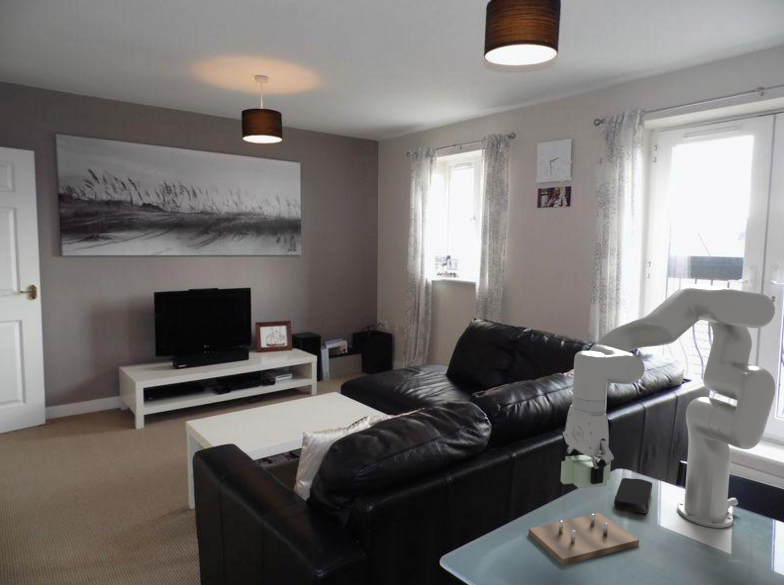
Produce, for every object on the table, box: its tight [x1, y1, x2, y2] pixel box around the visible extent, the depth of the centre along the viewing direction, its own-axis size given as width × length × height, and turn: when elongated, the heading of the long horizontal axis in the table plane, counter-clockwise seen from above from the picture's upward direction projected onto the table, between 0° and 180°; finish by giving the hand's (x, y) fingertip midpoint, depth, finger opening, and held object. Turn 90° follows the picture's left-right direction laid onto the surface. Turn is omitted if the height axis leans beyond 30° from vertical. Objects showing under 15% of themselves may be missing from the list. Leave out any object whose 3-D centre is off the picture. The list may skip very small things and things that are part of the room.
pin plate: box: [527, 512, 640, 566], centre depth 127 cm, size 22×13×4 cm, turn 110°
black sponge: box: [613, 477, 653, 514], centre depth 146 cm, size 16×8×4 cm, turn 149°
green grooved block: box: [560, 454, 612, 489], centre depth 125 cm, size 12×6×5 cm, turn 100°
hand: (585, 475), depth 125 cm, fingers closed on green grooved block, 7 cm apart
